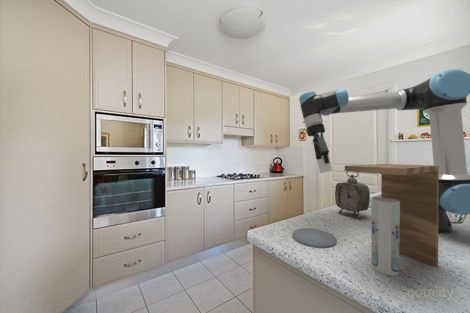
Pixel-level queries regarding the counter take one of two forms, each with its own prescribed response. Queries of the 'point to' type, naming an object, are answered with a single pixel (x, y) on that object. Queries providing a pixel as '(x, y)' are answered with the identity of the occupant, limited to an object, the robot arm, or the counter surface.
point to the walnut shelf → (412, 205)
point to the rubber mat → (314, 238)
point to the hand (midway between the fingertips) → (326, 172)
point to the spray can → (385, 235)
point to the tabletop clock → (352, 196)
